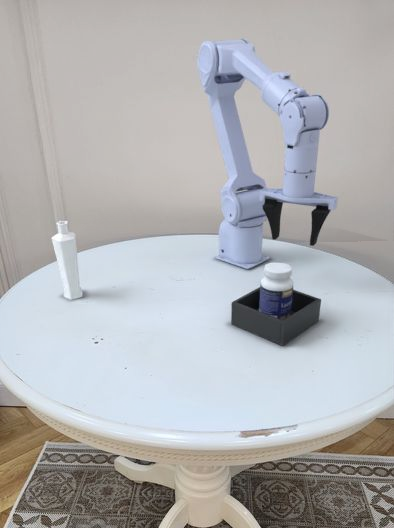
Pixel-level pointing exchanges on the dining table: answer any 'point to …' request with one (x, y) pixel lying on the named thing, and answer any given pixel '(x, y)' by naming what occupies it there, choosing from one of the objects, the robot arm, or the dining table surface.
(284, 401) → the dining table surface
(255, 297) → the basket
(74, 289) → the perfume bottle
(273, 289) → the pill bottle
